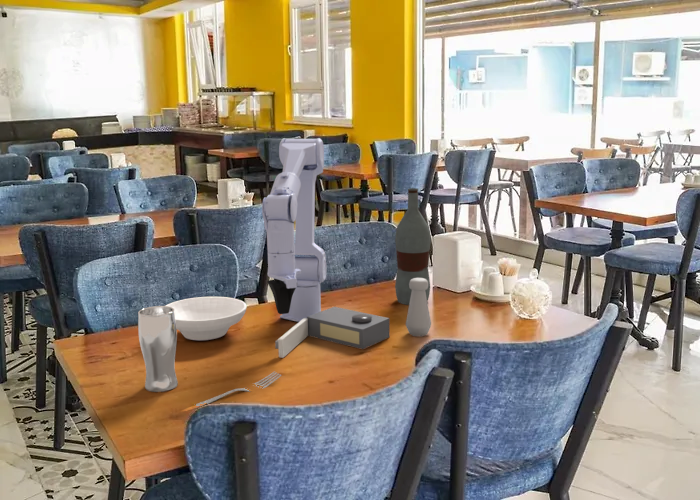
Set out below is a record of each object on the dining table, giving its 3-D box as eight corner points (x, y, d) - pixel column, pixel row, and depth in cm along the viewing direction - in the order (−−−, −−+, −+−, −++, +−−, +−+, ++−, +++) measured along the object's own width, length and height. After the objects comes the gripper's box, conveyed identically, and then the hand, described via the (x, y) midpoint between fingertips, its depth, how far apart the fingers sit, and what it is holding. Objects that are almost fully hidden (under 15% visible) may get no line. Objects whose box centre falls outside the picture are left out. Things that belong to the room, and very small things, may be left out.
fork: (161, 415, 130) (161, 405, 129) (273, 379, 145) (273, 370, 145) (170, 421, 127) (170, 411, 127) (283, 383, 143) (283, 375, 143)
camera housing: (307, 335, 170) (306, 313, 169) (334, 324, 178) (334, 303, 177) (362, 349, 160) (362, 326, 159) (389, 337, 168) (389, 314, 167)
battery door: (300, 334, 170) (300, 317, 170) (308, 334, 170) (308, 318, 169) (274, 356, 156) (273, 338, 155) (283, 357, 155) (282, 339, 155)
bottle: (437, 300, 197) (438, 188, 191) (416, 307, 190) (417, 192, 184) (408, 294, 203) (409, 185, 197) (388, 301, 197) (387, 189, 190)
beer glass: (146, 380, 145) (140, 306, 142) (182, 378, 145) (177, 304, 142) (139, 394, 138) (133, 316, 135) (177, 392, 139) (172, 315, 135)
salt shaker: (429, 338, 167) (430, 282, 164) (404, 337, 168) (404, 281, 165) (432, 330, 172) (432, 276, 170) (407, 329, 174) (407, 275, 171)
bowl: (265, 335, 171) (264, 306, 170) (195, 357, 157) (193, 326, 156) (213, 318, 184) (212, 292, 183) (144, 337, 170) (142, 309, 169)
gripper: (310, 256, 151) (311, 319, 154) (289, 243, 164) (291, 302, 167) (276, 259, 148) (279, 324, 151) (258, 246, 162) (260, 305, 164)
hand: (283, 312), depth 159 cm, fingers closed
